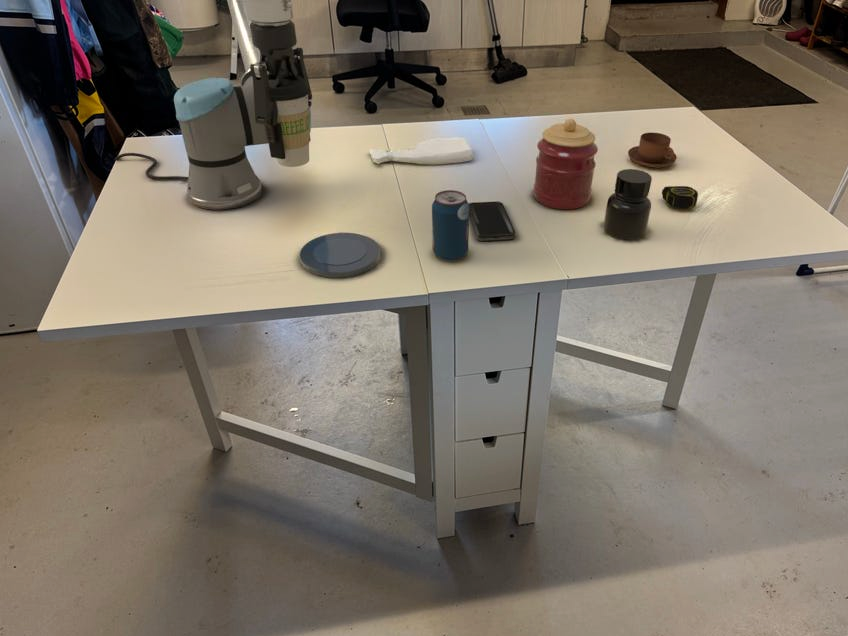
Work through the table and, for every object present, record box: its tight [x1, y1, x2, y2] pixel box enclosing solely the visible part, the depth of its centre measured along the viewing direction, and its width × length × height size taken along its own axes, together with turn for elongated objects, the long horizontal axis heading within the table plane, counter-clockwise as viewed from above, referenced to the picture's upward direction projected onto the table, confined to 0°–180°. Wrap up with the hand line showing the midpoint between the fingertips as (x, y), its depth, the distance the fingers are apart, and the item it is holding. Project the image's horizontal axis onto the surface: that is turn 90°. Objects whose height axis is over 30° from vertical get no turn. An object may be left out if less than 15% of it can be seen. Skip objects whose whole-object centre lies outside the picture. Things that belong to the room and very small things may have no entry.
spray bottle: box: [369, 137, 474, 166], centre depth 163 cm, size 3×11×24 cm
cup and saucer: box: [627, 132, 678, 168], centre depth 164 cm, size 12×12×6 cm
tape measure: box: [661, 185, 699, 210], centre depth 146 cm, size 7×7×4 cm
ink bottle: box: [603, 168, 653, 240], centre depth 134 cm, size 10×9×12 cm
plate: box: [299, 232, 381, 279], centre depth 125 cm, size 15×15×1 cm
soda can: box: [431, 189, 470, 263], centre depth 124 cm, size 7×7×12 cm
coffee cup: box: [269, 76, 311, 168], centre depth 125 cm, size 10×10×15 cm
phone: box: [468, 200, 516, 242], centre depth 138 cm, size 8×1×15 cm
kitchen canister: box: [533, 118, 599, 210], centre depth 143 cm, size 13×13×18 cm
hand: (291, 148), depth 128 cm, fingers closed on coffee cup, 9 cm apart
